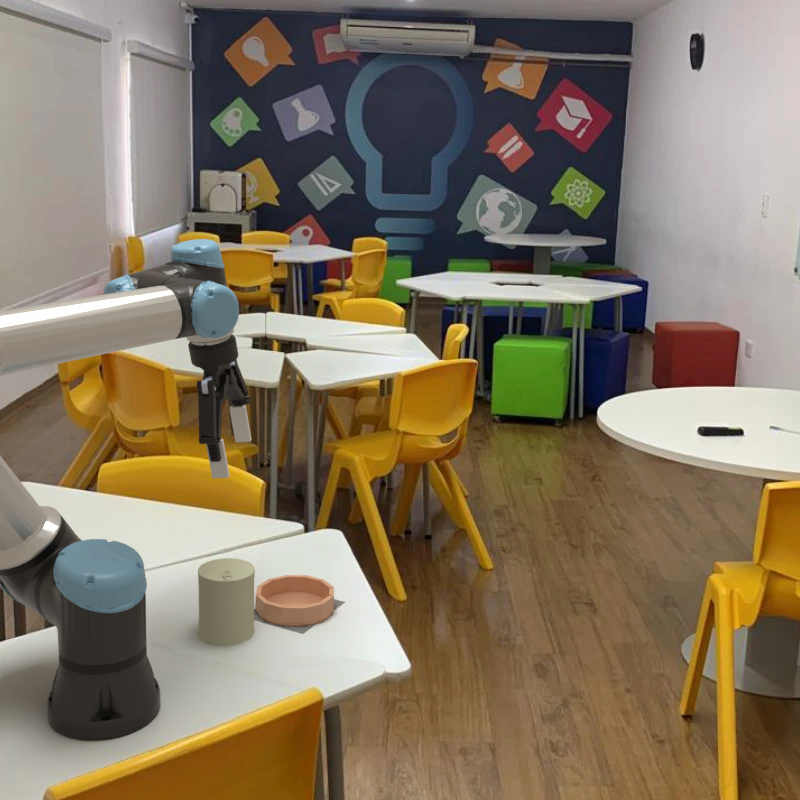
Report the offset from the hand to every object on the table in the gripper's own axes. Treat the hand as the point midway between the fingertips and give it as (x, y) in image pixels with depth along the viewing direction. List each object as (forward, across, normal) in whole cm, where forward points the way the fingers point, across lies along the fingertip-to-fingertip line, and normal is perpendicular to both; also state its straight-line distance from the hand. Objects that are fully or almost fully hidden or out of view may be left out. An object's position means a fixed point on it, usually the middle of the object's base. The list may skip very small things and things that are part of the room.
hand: (232, 458), depth 163 cm
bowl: (+28, -3, -8) cm, 29 cm away
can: (+26, -14, +2) cm, 29 cm away
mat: (+28, -3, -7) cm, 29 cm away
